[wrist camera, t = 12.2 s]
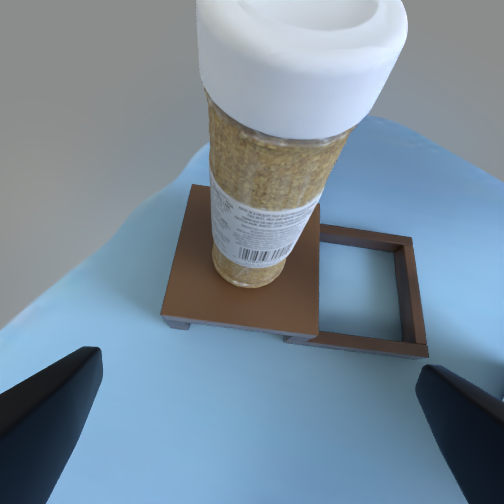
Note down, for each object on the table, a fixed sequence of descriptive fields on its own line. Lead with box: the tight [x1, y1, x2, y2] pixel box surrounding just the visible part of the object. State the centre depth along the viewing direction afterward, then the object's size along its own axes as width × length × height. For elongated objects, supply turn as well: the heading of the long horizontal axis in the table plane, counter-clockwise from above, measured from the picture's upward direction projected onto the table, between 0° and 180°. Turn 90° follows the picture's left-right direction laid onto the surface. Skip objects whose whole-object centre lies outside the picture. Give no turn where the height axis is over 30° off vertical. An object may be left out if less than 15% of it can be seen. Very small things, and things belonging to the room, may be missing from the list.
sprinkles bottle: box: [196, 0, 408, 288], centre depth 12 cm, size 5×5×14 cm
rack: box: [160, 184, 429, 359], centre depth 20 cm, size 9×17×4 cm, turn 84°
